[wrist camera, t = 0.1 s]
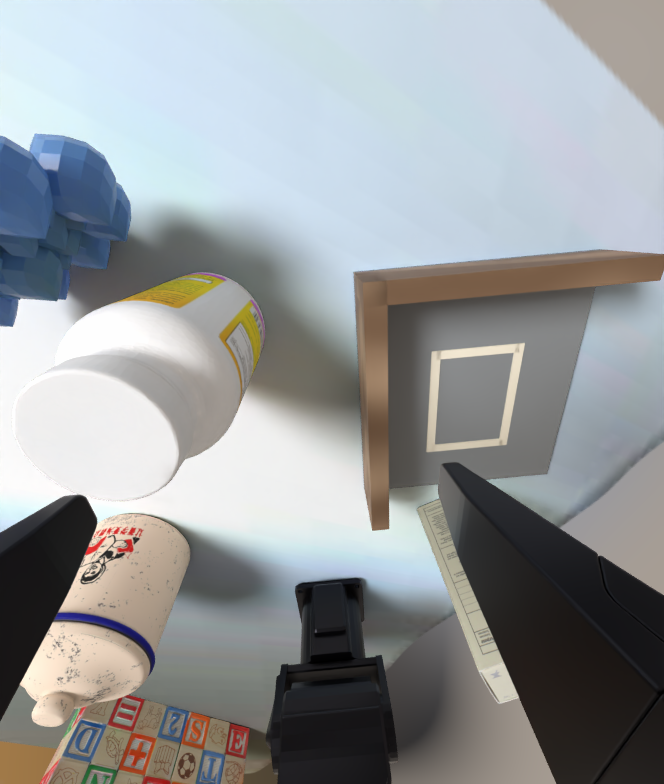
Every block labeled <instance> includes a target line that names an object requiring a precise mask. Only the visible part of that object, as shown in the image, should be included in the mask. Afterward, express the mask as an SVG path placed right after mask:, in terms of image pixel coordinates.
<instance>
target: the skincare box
mask: <svg viewBox="0 0 664 784" xmlns="http://www.w3.org/2000/svg"><path fill="white" fill-rule="evenodd" d="M417 511H418V514H419V517H420V519H421V522H422V525H423V527H424V530H425V533H426V535H427V538H428V540H429V543H430V545H431V548H432V551H433V553H434V556H435V559H436V561H437V564H438V567H439V569H440V572H441V574H442V577H443V580H444V582H445V585H446V587H447V590H448V593H449V595H450V598H451V601H452V603H453V606H454V608H455V611H456V614H457V616H458V619H459V621H460V624H461V627H462V629H463V632H464V635H465V637H466V640H467V642H468V645H469V647H470V650H471V653H472V655H473V658H474V661H475V663H476V666H477V669H478V671H479V673H480V675H481V677H482V679H483V680H484V682H485V684H486V686H487V687H488V689H489V691H490V693H491V694H492V696H493V697H494V699H495V700H496V702H497V703H499V704H501V703H504V702H507V701H510V700H513V699H517V698H519V696H518V694H517V692H516V689H515V687H514V685H513V683H512V680H511V678H510V676H509V673H508V671H507V669H506V666H505V664H504V662H503V659H502V657H501V655H500V653H499V650H498V648H497V646H496V643H495V641H494V639H493V636H492V634H491V632H490V630H489V627H488V625H487V623H486V620H485V618H484V616H483V613H482V611H481V609H480V607H479V604H478V602H477V600H476V597H475V595H474V593H473V590H472V588H471V586H470V584H469V581H468V579H467V577H466V574H465V572H464V570H463V567H462V565H461V563H460V560H459V558H458V555H457V552H456V549H455V546H454V543H453V540H452V537H451V534H450V530H449V527H448V524H447V521H446V518H445V514H444V511H443V508H442V505H441V501H440V499H438V500H436V501H433V502H431V503H429V504H426V505H424V506H421V507H419V508H417Z"/></svg>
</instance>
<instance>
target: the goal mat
mask: <svg viewBox="0 0 664 784" xmlns="http://www.w3.org/2000/svg"><path fill="white" fill-rule="evenodd" d="M589 251H598V250H589ZM578 252H587V251H578ZM567 253H576V252H567ZM556 254H565V253H556ZM545 255H554V254H545ZM534 256H543V255H534ZM523 257H532V256H523ZM512 258H521V257H512ZM501 259H511V258H501ZM490 260H500V259H490ZM479 261H489V260H479ZM468 262H478V261H468ZM457 263H467V262H457ZM446 264H456V263H446ZM435 265H445V264H435ZM424 266H434V265H424ZM414 267H423V266H414ZM403 268H412V267H403ZM392 269H401V268H392ZM381 270H390V269H381ZM370 271H379V270H370ZM359 272H368V271H359ZM354 273H357V272H354ZM595 287H596V286H593V287H582V288H571V289H560V290H549V291H538V292H527V293H516V294H506V295H495V296H484V297H473V298H462V299H451V300H440V301H429V302H418V303H408V304H397V305H387V308H388V444H389V489H391V488H402V487H412V486H423V485H434V484H438V483H439V472H440V466H441V464H443V463H449V462H458V463H460V464H462V465H463V466H465V467H466V468H468V469H469V470H471V471H472V472H474V473H475V474H477V475H479V476H480V477H482V478H483V479H485V480H487V479H497V478H508V477H519V476H529V475H540V474H547V471H548V467H549V464H550V460H551V456H552V452H553V448H554V444H555V440H556V437H557V433H558V429H559V425H560V421H561V417H562V414H563V410H564V406H565V402H566V398H567V394H568V391H569V387H570V383H571V379H572V375H573V371H574V367H575V364H576V360H577V356H578V352H579V348H580V344H581V341H582V337H583V333H584V329H585V325H586V321H587V318H588V314H589V310H590V306H591V302H592V298H593V294H594V291H595ZM354 292H355V279H354ZM355 312H356V300H355ZM356 332H357V320H356ZM357 352H358V340H357ZM358 372H359V361H358ZM359 392H360V381H359ZM360 412H361V401H360ZM361 432H362V422H361ZM362 452H363V442H362ZM363 472H364V463H363ZM364 489H365V483H364Z"/></svg>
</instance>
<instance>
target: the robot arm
mask: <svg viewBox="0 0 664 784" xmlns="http://www.w3.org/2000/svg"><path fill="white" fill-rule="evenodd" d="M438 494H439V498H440V501H441V505H442V508H443V511H444V514H445V518H446V521H447V524H448V527H449V530H450V534H451V537H452V540H453V543H454V546H455V549H456V552H457V555H458V558H459V560H460V563H461V565H462V567H463V570H464V572H465V574H466V577H467V579H468V581H469V584H470V586H471V588H472V590H473V593H474V595H475V597H476V600H477V602H478V604H479V607H480V609H481V611H482V613H483V616H484V618H485V620H486V623H487V625H488V627H489V630H490V632H491V634H492V636H493V639H494V641H495V643H496V646H497V648H498V650H499V653H500V655H501V657H502V659H503V662H504V664H505V666H506V669H507V671H508V673H509V676H510V678H511V680H512V683H513V685H514V687H515V689H516V692H517V694H518V696H519V698H520V701H521V703H522V706H523V708H524V710H525V712H526V715H527V717H528V719H529V721H530V724H531V726H532V728H533V731H534V733H535V735H536V738H537V740H538V742H539V745H540V747H541V749H542V752H543V754H544V756H545V758H546V761H547V763H548V765H549V768H550V770H551V772H552V775H553V777H554V779H555V781H556V784H664V595H662V594H661V593H659V592H657V591H656V590H654V589H653V588H651V587H649V586H648V585H646V584H645V583H643V582H642V581H640V580H638V579H637V578H635V577H634V576H632V575H630V574H629V573H627V572H626V571H624V570H623V569H621V568H619V567H618V566H616V565H615V564H613V563H612V562H610V561H609V560H607V559H606V558H604V557H603V556H598V554H597V553H596V552H595V551H593V550H592V549H590V548H589V547H587V546H586V545H584V544H582V543H581V542H579V541H578V540H576V539H575V538H573V537H572V536H570V535H569V534H567V533H566V532H564V531H563V530H561V529H560V528H558V527H557V526H555V525H554V524H552V523H550V522H549V521H547V520H546V519H544V518H543V517H541V516H540V515H538V514H537V513H535V512H534V511H532V510H531V509H529V508H528V507H526V506H524V505H523V504H521V503H520V502H518V501H517V500H515V499H514V498H512V497H511V496H509V495H508V494H506V493H505V492H503V491H501V490H500V489H498V488H497V487H495V486H494V485H492V484H491V483H489V482H488V481H486V480H485V479H483V478H482V477H480V476H479V475H477V474H475V473H474V472H472V471H471V470H469V469H468V468H466V467H465V466H463V465H462V464H460V463H458V462H449V463H443V464H441V466H440V472H439V483H438ZM96 527H97V517H96V515H95V513H94V511H93V509H92V508H91V506H90V504H89V502H88V500H87V498H86V497H85V496H83V495H69V496H64V497H62V498H60V499H58V500H56V501H55V502H53V503H51V504H49V505H48V506H46V507H44V508H42V509H41V510H39V511H37V512H35V513H34V514H32V515H30V516H28V517H27V518H25V519H23V520H21V521H20V522H18V523H16V524H15V525H13V526H11V527H9V528H8V529H6V530H4V531H2V532H1V533H0V721H1V719H2V717H3V715H4V713H5V711H6V710H7V708H8V706H9V704H10V702H11V700H12V698H13V696H14V695H15V693H16V691H17V689H18V687H19V685H20V683H21V681H22V679H23V678H24V676H25V674H26V672H27V670H28V668H29V666H30V664H31V663H32V661H33V659H34V657H35V655H36V653H37V651H38V649H39V647H40V646H41V644H42V642H43V640H44V638H45V636H46V634H47V632H48V631H49V629H50V627H51V625H52V623H53V621H54V619H55V617H56V616H57V614H58V612H59V610H60V608H61V606H62V604H63V602H64V600H65V599H66V597H67V595H68V593H69V591H70V589H71V586H72V584H73V582H74V580H75V577H76V575H77V573H78V570H79V568H80V566H81V563H82V561H83V558H84V556H85V554H86V551H87V549H88V547H89V544H90V542H91V539H92V537H93V535H94V532H95V530H96ZM295 594H296V598H297V603H298V608H299V613H300V618H301V623H302V637H301V664H295V665H288V664H282V665H281V671H280V675H278V676H277V680H276V691H275V700H274V705H273V709H272V713H271V717H270V721H269V725H268V729H267V733H266V744H267V746H268V747H269V749H270V750H271V757H272V766H273V772H274V774H278V784H391V772H390V764H389V763H397V762H398V755H397V745H396V736H395V728H394V721H393V715H392V709H391V703H390V697H389V693H388V687H387V681H386V676H385V670H384V665H383V659H382V655H377V656H376V657H370V658H365V649H364V640H363V632H362V623H361V622H363V621H364V608H363V593H362V582H361V580H359V579H351V580H341V581H330V582H320V583H309V584H299V585H297V586H296V587H295Z"/></svg>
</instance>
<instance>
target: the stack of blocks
mask: <svg viewBox="0 0 664 784" xmlns="http://www.w3.org/2000/svg"><path fill="white" fill-rule="evenodd" d="M249 730H250V729H249V728H246V727H242V726H238V725H234V724H230V723H229V722H226V721H222V720H219V719H215V718H210V717H207V716H204V715H200V714H197V713H193V712H188V711H185V710H181V709H177V708H173V707H170V706H166V705H162V704H158V703H154V702H151V701H147V700H144V699H141V698H137V697H133V696H129V695H126V696H124V697H121V698H118V699H115V700H110V701H105V702H96V703H94V704H91V705H89V706H85V707H82V708H78V709H77V711H76V713H75V715H74V717H73V719H72V720H71V722H70V725H69V727H68V729H67V731H66V733H65V735H64V737H63V739H62V741H61V743H60V745H59V747H58V749H57V751H56V753H55V754H54V756H53V759H52V760H51V762H50V764H49V766H48V768H47V770H46V772H45V774H44V776H43V778H42V780H41V782H40V784H243V777H244V770H245V763H246V760H245V758H246V752H247V746H248V739H249Z"/></svg>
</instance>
